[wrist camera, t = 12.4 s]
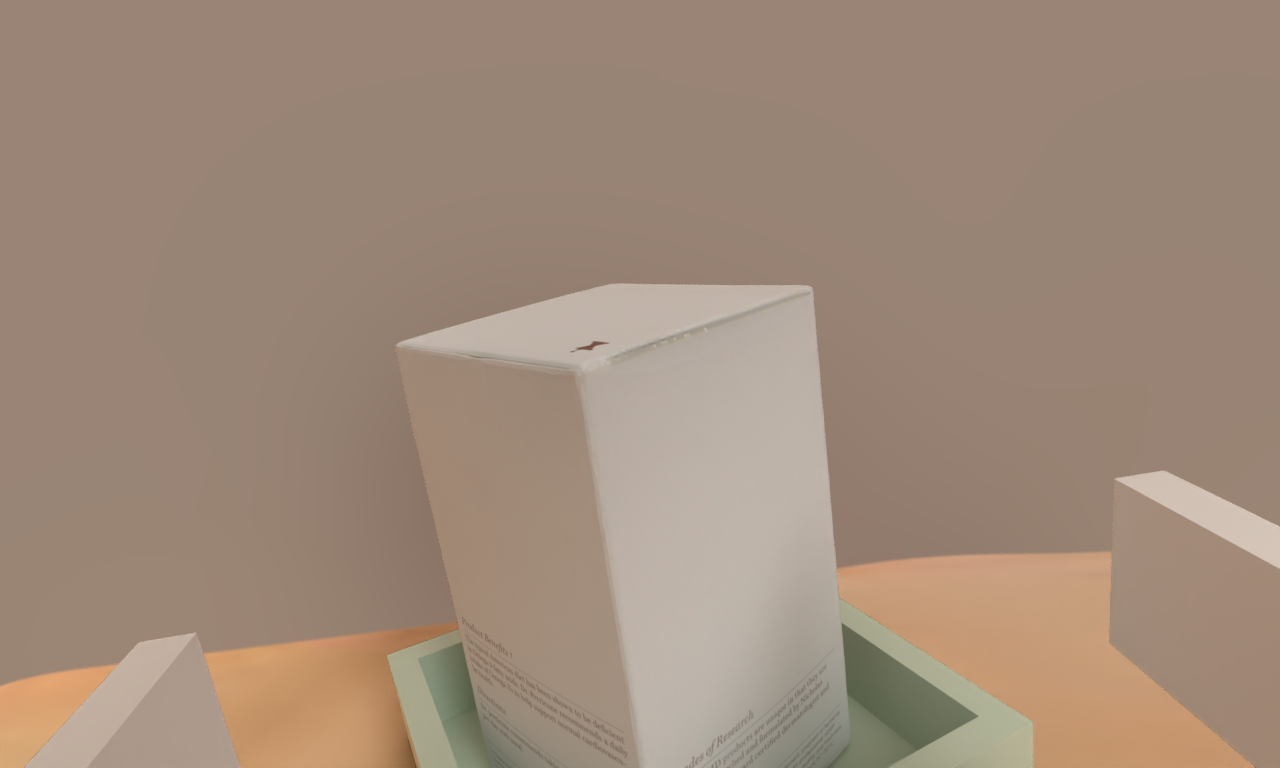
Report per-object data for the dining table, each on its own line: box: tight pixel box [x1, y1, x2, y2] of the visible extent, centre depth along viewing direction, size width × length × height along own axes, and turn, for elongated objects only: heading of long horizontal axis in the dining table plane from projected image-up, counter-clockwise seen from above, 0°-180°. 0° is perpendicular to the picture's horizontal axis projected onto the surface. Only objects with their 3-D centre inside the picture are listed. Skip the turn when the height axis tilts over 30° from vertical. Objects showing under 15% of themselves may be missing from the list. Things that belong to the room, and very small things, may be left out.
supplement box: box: [395, 283, 851, 768], centre depth 20 cm, size 7×7×13 cm
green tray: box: [387, 597, 1033, 768], centre depth 21 cm, size 13×13×3 cm
